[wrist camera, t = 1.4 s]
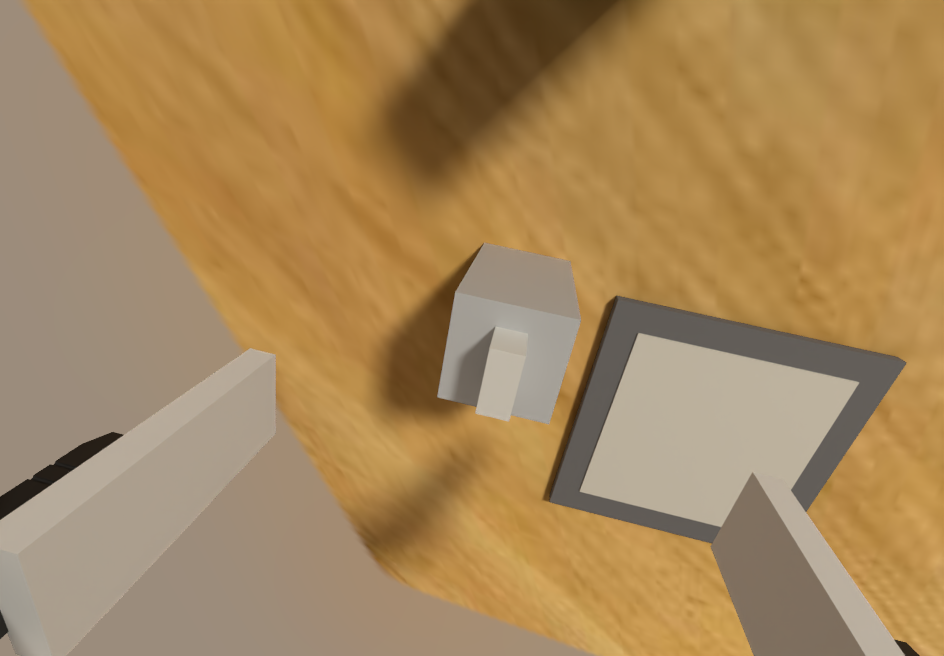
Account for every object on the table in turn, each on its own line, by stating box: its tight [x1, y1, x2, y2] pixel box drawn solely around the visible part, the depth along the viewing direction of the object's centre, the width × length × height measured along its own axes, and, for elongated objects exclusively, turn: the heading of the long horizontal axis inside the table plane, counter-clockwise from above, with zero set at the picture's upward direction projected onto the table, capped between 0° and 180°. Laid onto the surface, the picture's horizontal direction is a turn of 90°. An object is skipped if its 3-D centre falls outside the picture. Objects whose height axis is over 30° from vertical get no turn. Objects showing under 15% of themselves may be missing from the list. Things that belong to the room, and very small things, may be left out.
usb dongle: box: [437, 243, 581, 424], centre depth 19 cm, size 4×4×10 cm
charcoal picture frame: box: [550, 296, 906, 543], centre depth 25 cm, size 14×14×1 cm
